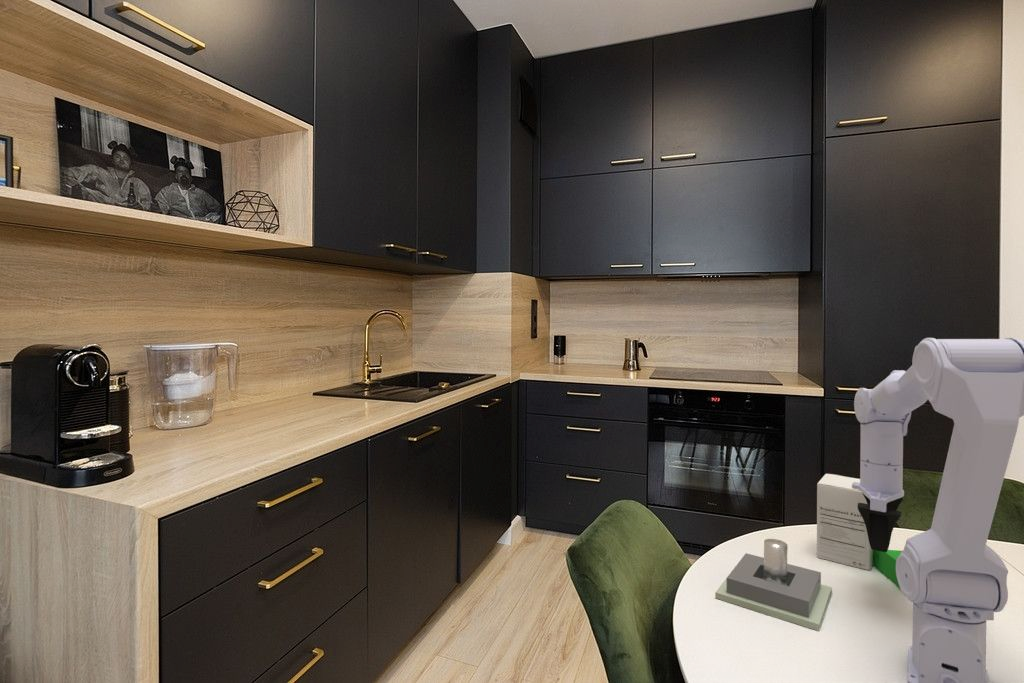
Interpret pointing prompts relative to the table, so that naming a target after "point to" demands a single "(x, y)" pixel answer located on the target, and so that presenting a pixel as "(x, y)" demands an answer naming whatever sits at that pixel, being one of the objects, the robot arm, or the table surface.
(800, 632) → the table surface
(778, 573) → the silver metal cylinder
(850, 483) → the supplement box
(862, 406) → the robot arm
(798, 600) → the dock
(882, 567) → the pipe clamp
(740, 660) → the table surface
